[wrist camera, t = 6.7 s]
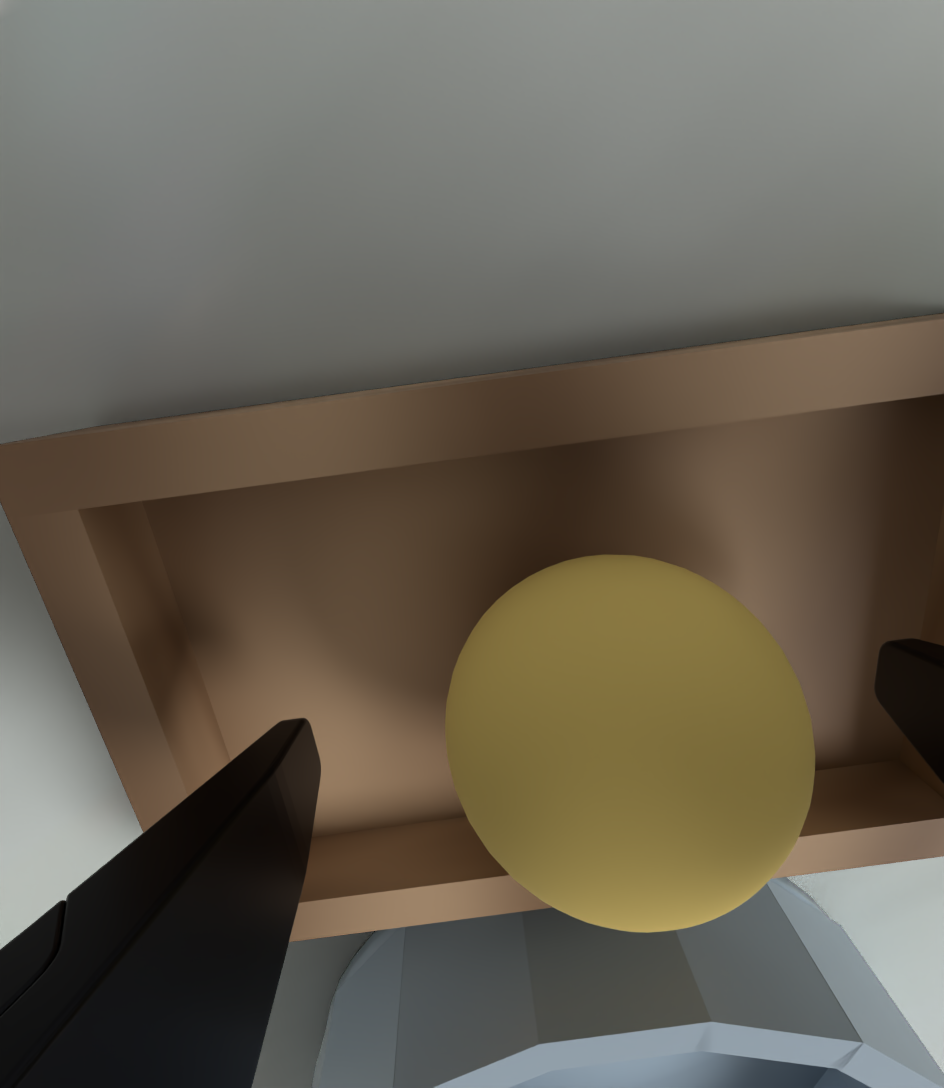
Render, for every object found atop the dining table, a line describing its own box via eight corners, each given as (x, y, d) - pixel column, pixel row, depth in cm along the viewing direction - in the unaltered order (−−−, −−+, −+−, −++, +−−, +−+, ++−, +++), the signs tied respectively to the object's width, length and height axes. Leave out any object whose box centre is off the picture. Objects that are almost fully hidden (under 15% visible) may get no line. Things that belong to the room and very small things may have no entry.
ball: (691, 495, 10) (969, 620, 5) (689, 725, 11) (895, 984, 7) (416, 538, 9) (428, 718, 5) (454, 769, 11) (493, 1078, 6)
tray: (979, 307, 10) (1155, 290, 7) (901, 758, 13) (1004, 848, 10) (94, 426, 10) (-22, 448, 7) (242, 844, 13) (196, 954, 10)
